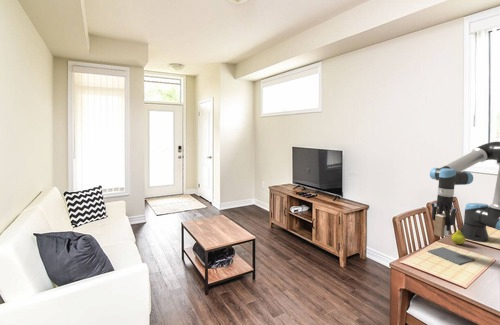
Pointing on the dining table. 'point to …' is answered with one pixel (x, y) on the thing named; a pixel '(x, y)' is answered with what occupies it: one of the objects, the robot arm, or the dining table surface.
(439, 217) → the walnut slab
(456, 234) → the fruit
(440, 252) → the felt pad
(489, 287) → the dining table surface
